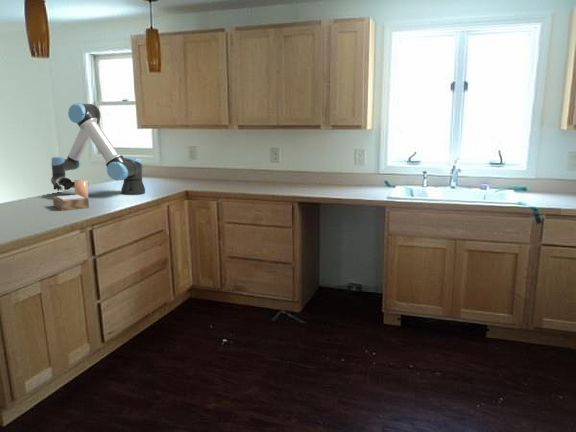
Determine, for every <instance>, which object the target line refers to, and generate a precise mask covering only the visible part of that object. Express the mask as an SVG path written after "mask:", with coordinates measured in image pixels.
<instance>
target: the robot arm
mask: <svg viewBox="0 0 576 432" xmlns="http://www.w3.org/2000/svg"><path fill="white" fill-rule="evenodd" d="M67 114H68V118H69V120H70V121H71V122H72V123H75V124H77V126H78V127H79V131H78V133H77V135H76V138H75V140H74V142H73V144H72V146H71V148H70V151H69V152H68V155H67V158H65V157H64V156H54V157H52V158H51V162H50V163H51V170H52V171H51V172H52V173H51V179H50V182H51V184H52V185H53V190H54V191H55V190H56V191H58V192H59V191H63V192H65V191H68V190H70V189H71V188H74V189H75V183H74V181H72V180H71V179H70V178H68V177H66V171H67V172H68V171H71V170H72V171H74V170H77V169H79V168H80V167H81V158H82V156H83V154H84V152H85V149H86V147H87V146H88V144H89V140H91V141H92V143H93V145H94V146H95V147H96V148H97V150H98V151H99V153H100V154H101V156H102V158H103V159H104V160H105V166H106V169H107V170H106V173H107V175H108V177H109V178H110V179H112V180H113V181H123V183H122V186H121V191H120V193H121V194H122V195H127V196H128V195H130V196H133V195H134V196H135V195H143V194H146V187H145V184H144V183H143V182H144V181H143V164H142V159H141V158H135V157H124V156H123V155H122V154H119V153H118V152H117V150H116V149H115V148H114V145H113V144H112V142H111V141H110V139H109V138H108V137H107V136H106V134H105V132H104V131H103V130H102V128H101V126H100V125H99V124H100V121H101V111H100V109H99V108H98V107H97V106H96V105H95V104H93V103H92V104H91V103H80V102H77V103H73V104H72V105H70V106H69V108H68V112H67Z"/></svg>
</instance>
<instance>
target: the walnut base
mask: <svg viewBox="0 0 576 432" xmlns="http://www.w3.org/2000/svg"><path fill="white" fill-rule="evenodd" d="M88 199H89V198H88ZM88 199H87V198H85V197H83V196H80V195H75V194H69V195H59V196H58V195H57V196H55V197H52V201H53V202H52V203H53V208H56V209H58V210H60V211H62V212H63V211H70V210H71V211H74V210H80V209H81V210H83V209H89V208H90V203H89V201H90V200H89V201H88Z"/></svg>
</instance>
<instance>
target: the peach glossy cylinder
mask: <svg viewBox="0 0 576 432" xmlns="http://www.w3.org/2000/svg"><path fill="white" fill-rule="evenodd" d="M73 182H74V183H75V188H74V195H80V196H83V197H85V198H87V199H88V201H90V199H89V183H88V182H89V181H88V180H87V179H78V180H77V179H76V180H74V181H73Z"/></svg>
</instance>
